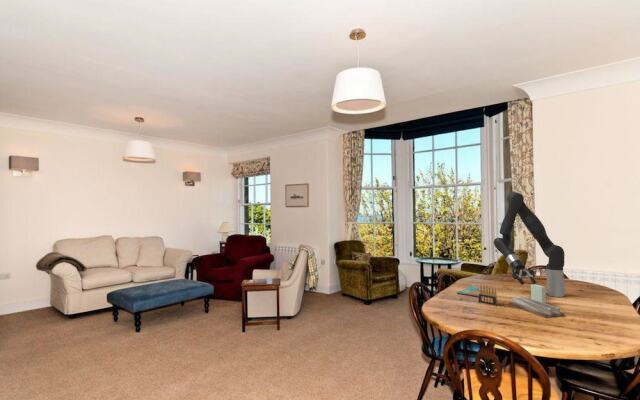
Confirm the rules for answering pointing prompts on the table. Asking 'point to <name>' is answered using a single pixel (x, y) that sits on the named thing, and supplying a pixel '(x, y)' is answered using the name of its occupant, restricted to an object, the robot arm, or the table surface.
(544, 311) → the board
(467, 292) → the dish towel
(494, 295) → the ammunition clip
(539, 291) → the door panel
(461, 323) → the table surface
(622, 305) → the table surface
